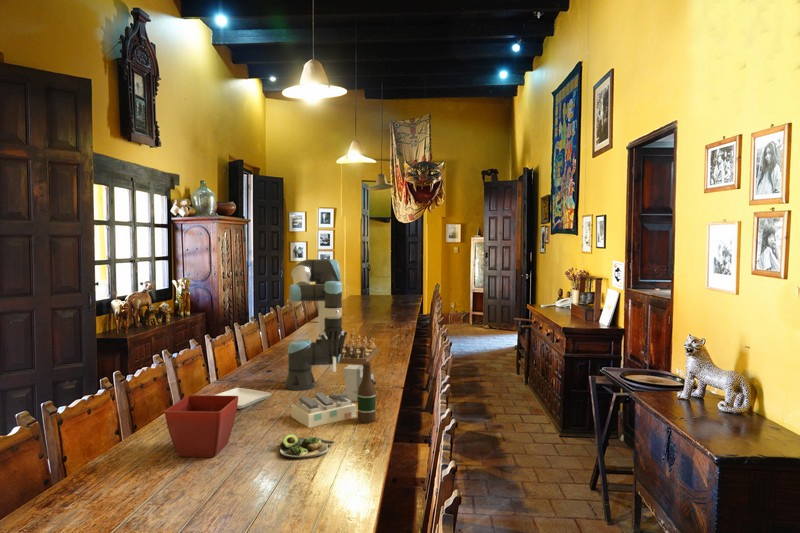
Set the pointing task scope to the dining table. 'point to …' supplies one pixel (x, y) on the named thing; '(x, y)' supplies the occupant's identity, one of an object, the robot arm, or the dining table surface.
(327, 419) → the console
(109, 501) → the dining table surface
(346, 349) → the chess set
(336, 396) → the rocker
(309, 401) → the rocker
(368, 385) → the beer bottle
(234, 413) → the plant pot
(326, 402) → the block
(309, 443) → the salad plate
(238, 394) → the salad plate
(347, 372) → the circuit breaker
